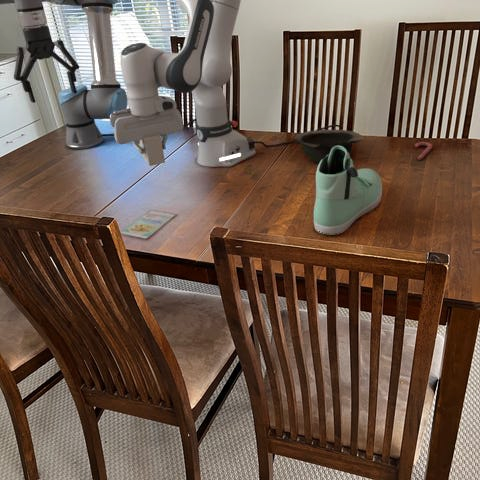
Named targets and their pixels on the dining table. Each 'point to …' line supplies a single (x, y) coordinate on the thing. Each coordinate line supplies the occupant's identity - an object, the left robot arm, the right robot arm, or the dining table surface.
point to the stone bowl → (325, 142)
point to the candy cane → (425, 149)
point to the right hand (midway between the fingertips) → (153, 151)
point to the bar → (152, 150)
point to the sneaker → (343, 192)
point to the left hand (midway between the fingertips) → (54, 97)
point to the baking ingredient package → (147, 224)
